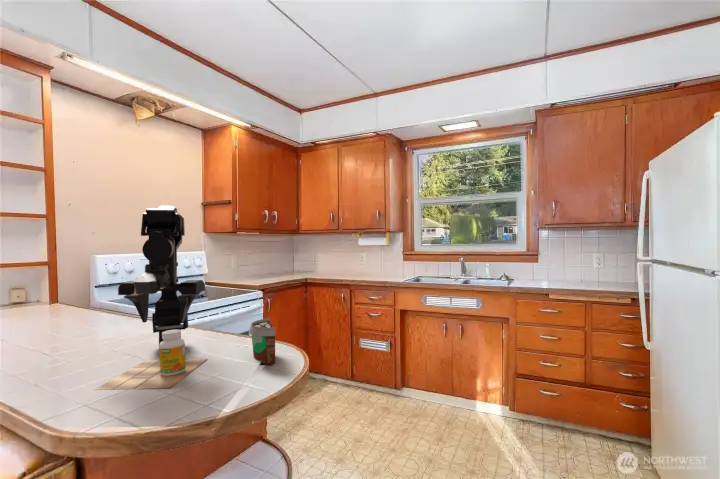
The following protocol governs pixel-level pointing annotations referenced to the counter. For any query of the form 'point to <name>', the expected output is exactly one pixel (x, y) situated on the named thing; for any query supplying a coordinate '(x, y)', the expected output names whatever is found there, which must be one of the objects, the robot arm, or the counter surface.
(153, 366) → the floor board
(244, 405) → the counter surface
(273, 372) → the counter surface
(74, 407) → the counter surface
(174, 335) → the supplement bottle
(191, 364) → the plank
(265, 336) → the food container
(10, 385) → the counter surface
